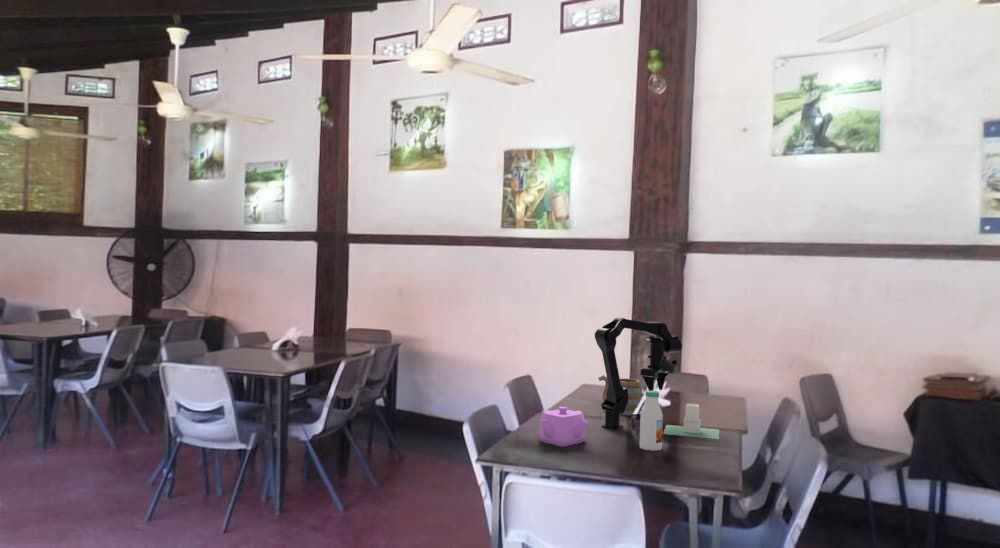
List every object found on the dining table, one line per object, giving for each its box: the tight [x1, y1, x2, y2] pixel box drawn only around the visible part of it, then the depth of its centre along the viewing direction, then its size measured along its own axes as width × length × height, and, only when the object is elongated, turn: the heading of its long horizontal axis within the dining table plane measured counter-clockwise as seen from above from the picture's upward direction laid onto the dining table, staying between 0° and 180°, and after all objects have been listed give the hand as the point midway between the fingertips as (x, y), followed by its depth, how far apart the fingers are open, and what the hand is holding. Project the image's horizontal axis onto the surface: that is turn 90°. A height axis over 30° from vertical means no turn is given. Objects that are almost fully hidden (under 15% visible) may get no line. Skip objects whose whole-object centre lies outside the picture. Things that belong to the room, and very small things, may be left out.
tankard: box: [598, 375, 643, 416], centre depth 304 cm, size 20×13×15 cm, turn 58°
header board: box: [662, 424, 720, 440], centre depth 263 cm, size 20×16×4 cm
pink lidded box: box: [538, 406, 589, 446], centre depth 248 cm, size 17×17×12 cm
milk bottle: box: [639, 390, 664, 452], centre depth 241 cm, size 8×8×20 cm
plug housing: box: [682, 403, 701, 433], centre depth 263 cm, size 6×5×10 cm
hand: (656, 391), depth 281 cm, fingers open, 9 cm apart
